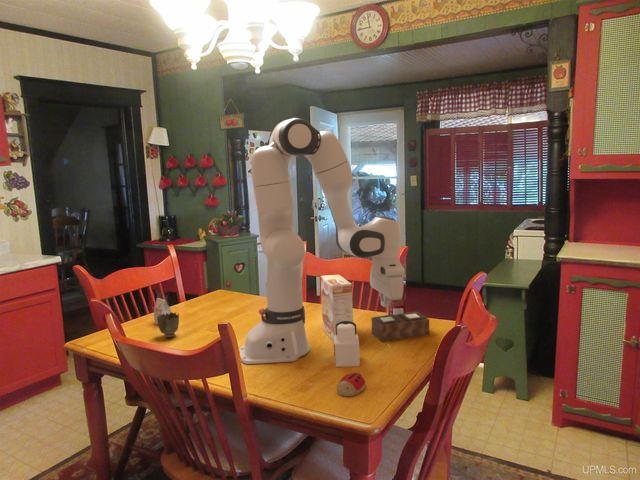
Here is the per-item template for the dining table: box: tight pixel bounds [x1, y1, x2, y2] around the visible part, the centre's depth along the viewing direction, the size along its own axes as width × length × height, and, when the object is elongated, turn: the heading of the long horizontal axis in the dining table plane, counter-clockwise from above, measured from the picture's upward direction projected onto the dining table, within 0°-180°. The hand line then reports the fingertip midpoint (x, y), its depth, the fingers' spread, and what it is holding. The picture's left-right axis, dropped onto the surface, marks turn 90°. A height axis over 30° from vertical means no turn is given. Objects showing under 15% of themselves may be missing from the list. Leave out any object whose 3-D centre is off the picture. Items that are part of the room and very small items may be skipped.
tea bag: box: [153, 297, 172, 325], centre depth 183 cm, size 4×7×10 cm, turn 45°
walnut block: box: [371, 311, 430, 343], centre depth 162 cm, size 17×9×6 cm, turn 105°
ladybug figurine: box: [336, 372, 367, 397], centre depth 124 cm, size 7×10×4 cm
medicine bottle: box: [333, 321, 361, 368], centre depth 141 cm, size 7×7×12 cm
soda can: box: [387, 286, 407, 315], centre depth 182 cm, size 7×7×12 cm
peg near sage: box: [380, 317, 395, 321], centre depth 161 cm, size 4×4×6 cm
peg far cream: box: [405, 314, 420, 318], centre depth 163 cm, size 4×4×6 cm
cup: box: [157, 311, 180, 339], centre depth 169 cm, size 8×7×8 cm
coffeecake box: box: [320, 274, 354, 343], centre depth 163 cm, size 15×7×20 cm, turn 14°
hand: (384, 306), depth 160 cm, fingers closed
